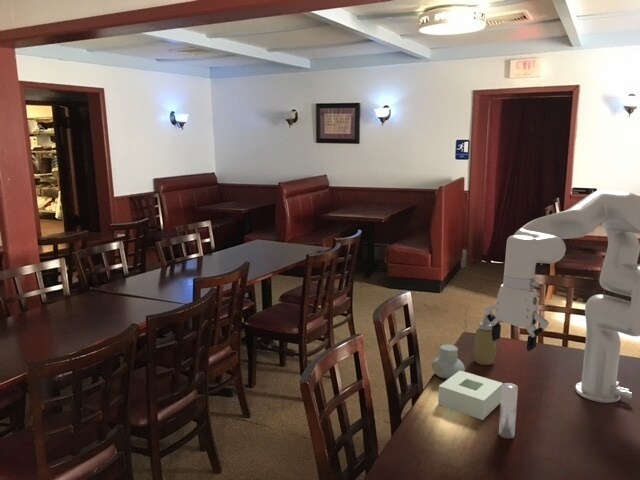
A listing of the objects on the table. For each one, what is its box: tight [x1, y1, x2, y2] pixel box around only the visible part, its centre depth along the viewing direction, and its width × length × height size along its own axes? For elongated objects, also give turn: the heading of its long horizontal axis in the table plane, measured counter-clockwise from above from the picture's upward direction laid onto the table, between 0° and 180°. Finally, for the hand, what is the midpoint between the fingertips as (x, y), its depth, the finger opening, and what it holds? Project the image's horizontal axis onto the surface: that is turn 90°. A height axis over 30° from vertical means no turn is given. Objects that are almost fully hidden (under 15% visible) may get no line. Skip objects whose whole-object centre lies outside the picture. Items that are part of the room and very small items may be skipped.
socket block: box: [437, 371, 504, 421], centre depth 162 cm, size 14×14×6 cm
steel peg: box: [498, 382, 519, 439], centre depth 144 cm, size 4×4×14 cm
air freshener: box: [431, 344, 466, 380], centre depth 180 cm, size 11×8×10 cm
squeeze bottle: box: [472, 312, 497, 366], centre depth 190 cm, size 8×8×18 cm
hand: (512, 344), depth 145 cm, fingers open, 9 cm apart
